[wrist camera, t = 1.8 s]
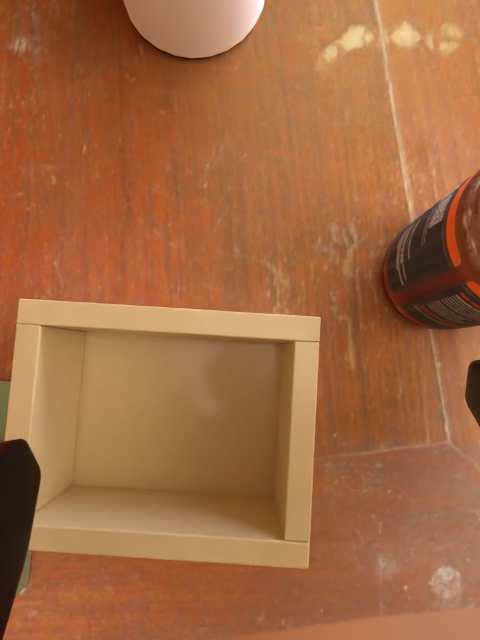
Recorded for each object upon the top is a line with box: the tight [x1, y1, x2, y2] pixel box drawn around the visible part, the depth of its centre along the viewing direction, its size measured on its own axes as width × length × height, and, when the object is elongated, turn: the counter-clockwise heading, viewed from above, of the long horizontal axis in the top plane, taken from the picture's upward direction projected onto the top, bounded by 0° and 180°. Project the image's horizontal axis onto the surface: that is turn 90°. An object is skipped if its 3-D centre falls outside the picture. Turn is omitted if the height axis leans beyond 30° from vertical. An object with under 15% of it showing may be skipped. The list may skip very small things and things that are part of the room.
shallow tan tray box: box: [4, 299, 321, 569], centre depth 20 cm, size 10×12×6 cm
